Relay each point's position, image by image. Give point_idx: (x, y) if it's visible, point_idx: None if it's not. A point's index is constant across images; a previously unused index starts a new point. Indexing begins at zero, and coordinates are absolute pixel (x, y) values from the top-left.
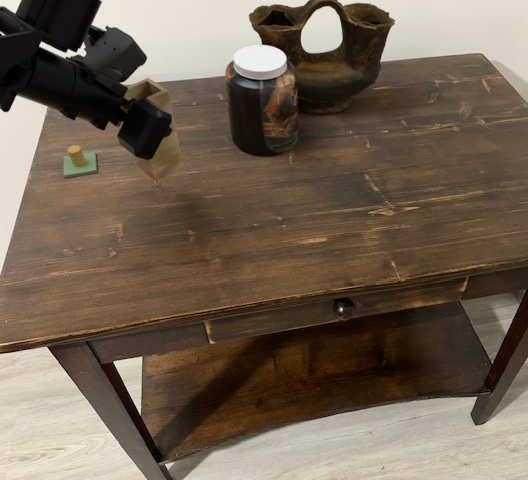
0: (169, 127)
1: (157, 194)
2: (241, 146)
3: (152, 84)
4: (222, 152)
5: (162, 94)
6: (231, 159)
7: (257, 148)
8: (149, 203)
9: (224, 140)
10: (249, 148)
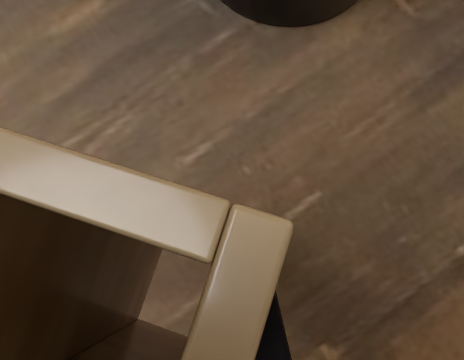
0: (279, 310)
1: (163, 268)
2: (267, 16)
3: (7, 194)
4: (223, 52)
5: (262, 320)
6: (260, 64)
7: (321, 8)
8: (164, 307)
9: (201, 10)
10: (296, 15)
